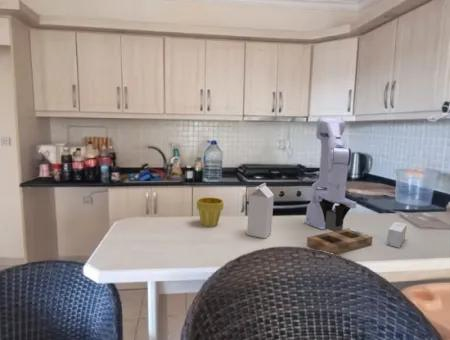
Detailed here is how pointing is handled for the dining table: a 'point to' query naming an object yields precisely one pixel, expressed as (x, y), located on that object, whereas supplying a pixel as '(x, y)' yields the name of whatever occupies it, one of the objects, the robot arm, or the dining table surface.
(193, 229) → the dining table surface
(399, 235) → the skincare box
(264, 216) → the milk carton
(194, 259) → the dining table surface
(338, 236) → the brown flat rectangular frame
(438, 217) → the dining table surface
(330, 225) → the plug
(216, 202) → the plant pot
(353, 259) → the dining table surface
